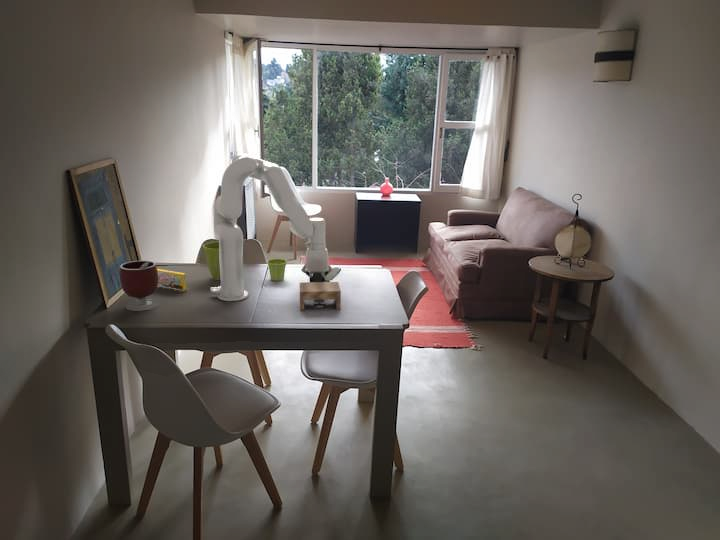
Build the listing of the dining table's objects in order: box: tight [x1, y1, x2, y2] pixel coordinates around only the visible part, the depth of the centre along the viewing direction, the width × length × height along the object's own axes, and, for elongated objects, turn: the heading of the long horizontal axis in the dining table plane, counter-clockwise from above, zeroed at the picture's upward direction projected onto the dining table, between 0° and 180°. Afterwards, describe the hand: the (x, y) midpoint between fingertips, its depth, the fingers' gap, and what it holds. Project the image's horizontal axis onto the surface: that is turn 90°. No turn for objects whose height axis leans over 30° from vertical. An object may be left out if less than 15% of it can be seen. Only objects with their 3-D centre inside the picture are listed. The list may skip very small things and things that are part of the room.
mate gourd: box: [119, 260, 158, 307], centre depth 212 cm, size 16×14×20 cm
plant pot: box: [266, 258, 288, 282], centre depth 252 cm, size 9×9×9 cm
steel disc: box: [313, 301, 327, 309], centre depth 219 cm, size 5×5×2 cm
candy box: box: [157, 268, 187, 290], centre depth 235 cm, size 16×2×8 cm, turn 68°
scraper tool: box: [312, 272, 325, 302], centre depth 235 cm, size 4×21×7 cm, turn 7°
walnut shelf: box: [299, 281, 342, 312], centre depth 219 cm, size 16×12×8 cm
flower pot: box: [202, 241, 221, 281], centre depth 251 cm, size 15×15×16 cm
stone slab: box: [325, 267, 342, 282], centre depth 262 cm, size 22×3×10 cm
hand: (317, 284), depth 243 cm, fingers closed on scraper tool, 4 cm apart
